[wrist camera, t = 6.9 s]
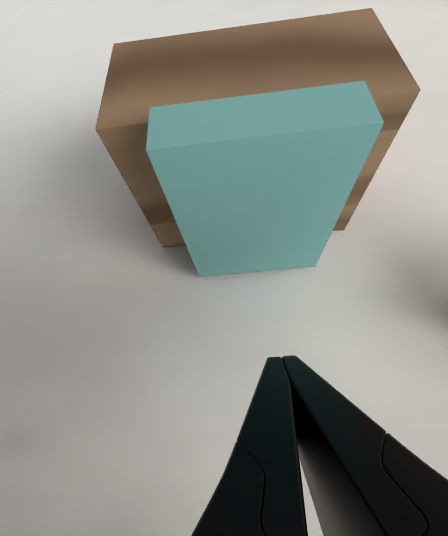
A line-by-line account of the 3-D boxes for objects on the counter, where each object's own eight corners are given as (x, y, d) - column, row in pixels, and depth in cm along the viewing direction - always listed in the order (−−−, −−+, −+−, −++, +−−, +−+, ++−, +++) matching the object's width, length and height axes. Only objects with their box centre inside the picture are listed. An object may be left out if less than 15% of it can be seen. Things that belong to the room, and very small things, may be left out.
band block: (346, 236, 18) (425, 98, 10) (162, 253, 18) (93, 138, 10) (324, 162, 21) (371, 8, 12) (166, 179, 21) (113, 43, 13)
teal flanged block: (315, 266, 16) (384, 122, 8) (199, 276, 17) (145, 150, 8) (291, 161, 20) (320, -13, 12) (197, 171, 21) (158, 10, 12)
